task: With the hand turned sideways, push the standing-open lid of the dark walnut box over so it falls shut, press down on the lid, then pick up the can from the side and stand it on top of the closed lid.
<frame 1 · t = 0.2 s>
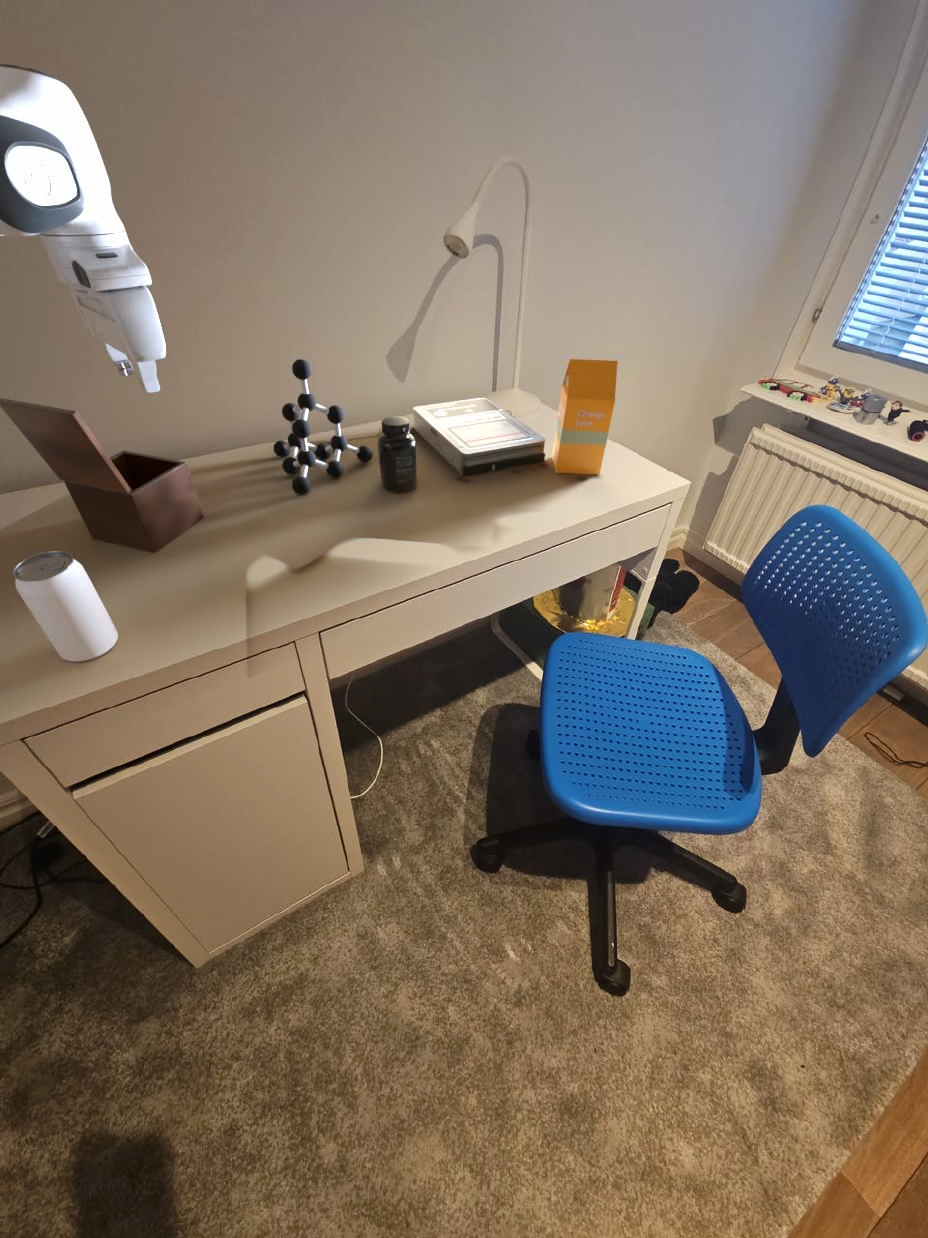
hand: (139, 382, 73), 22 cm above the table, tool pointing down, fingers open, 8 cm apart
box: (150, 527, 87), on the table
can: (90, 646, 66), on the table
molecular model: (309, 467, 105), on the table
lid: (67, 448, 71), point 16 cm above the table, hinge at 104.0°
orange juice: (574, 466, 109), on the table
hard drive: (474, 444, 116), on the table
supplement bottle: (399, 486, 100), on the table
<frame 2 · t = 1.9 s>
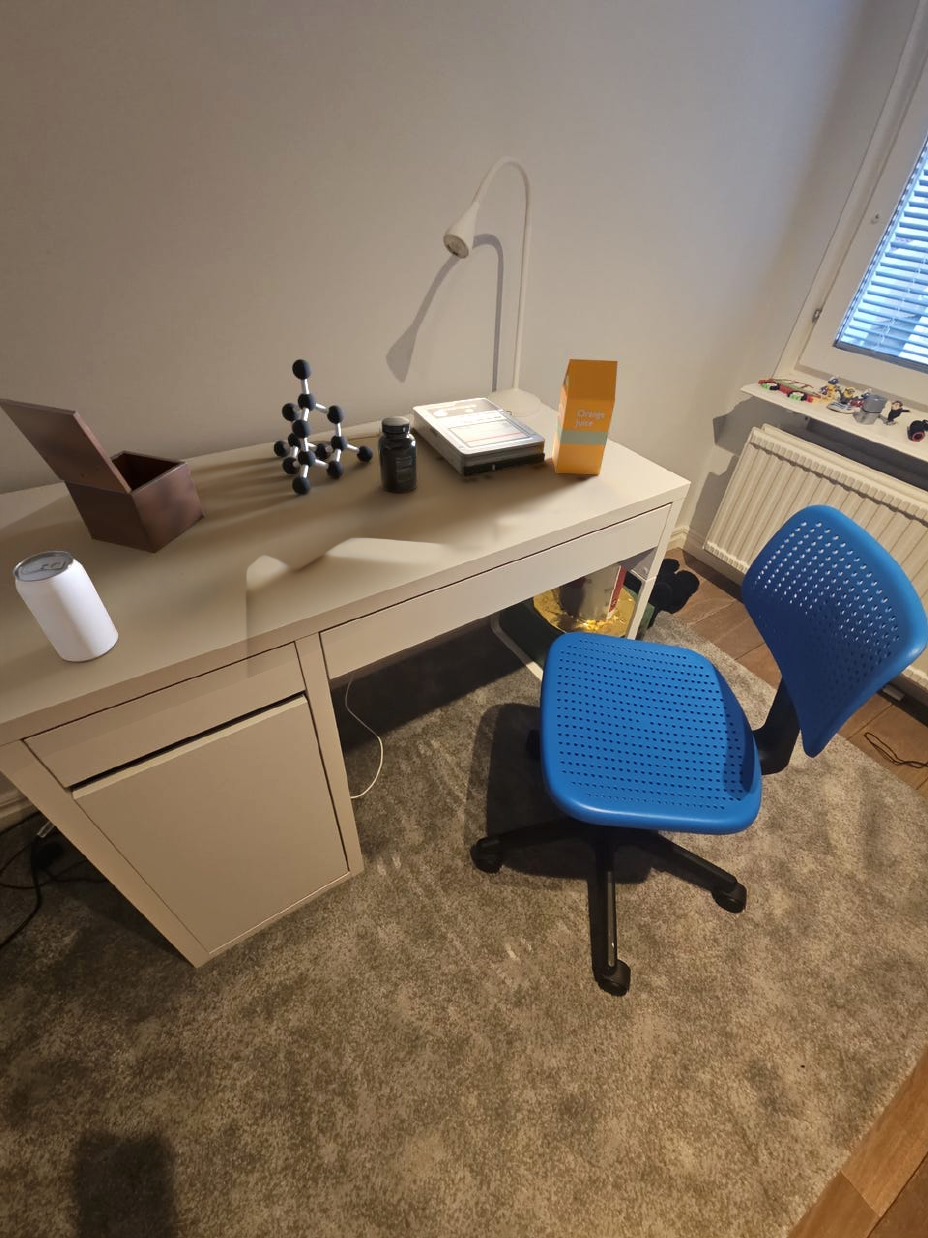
nothing on the table moved.
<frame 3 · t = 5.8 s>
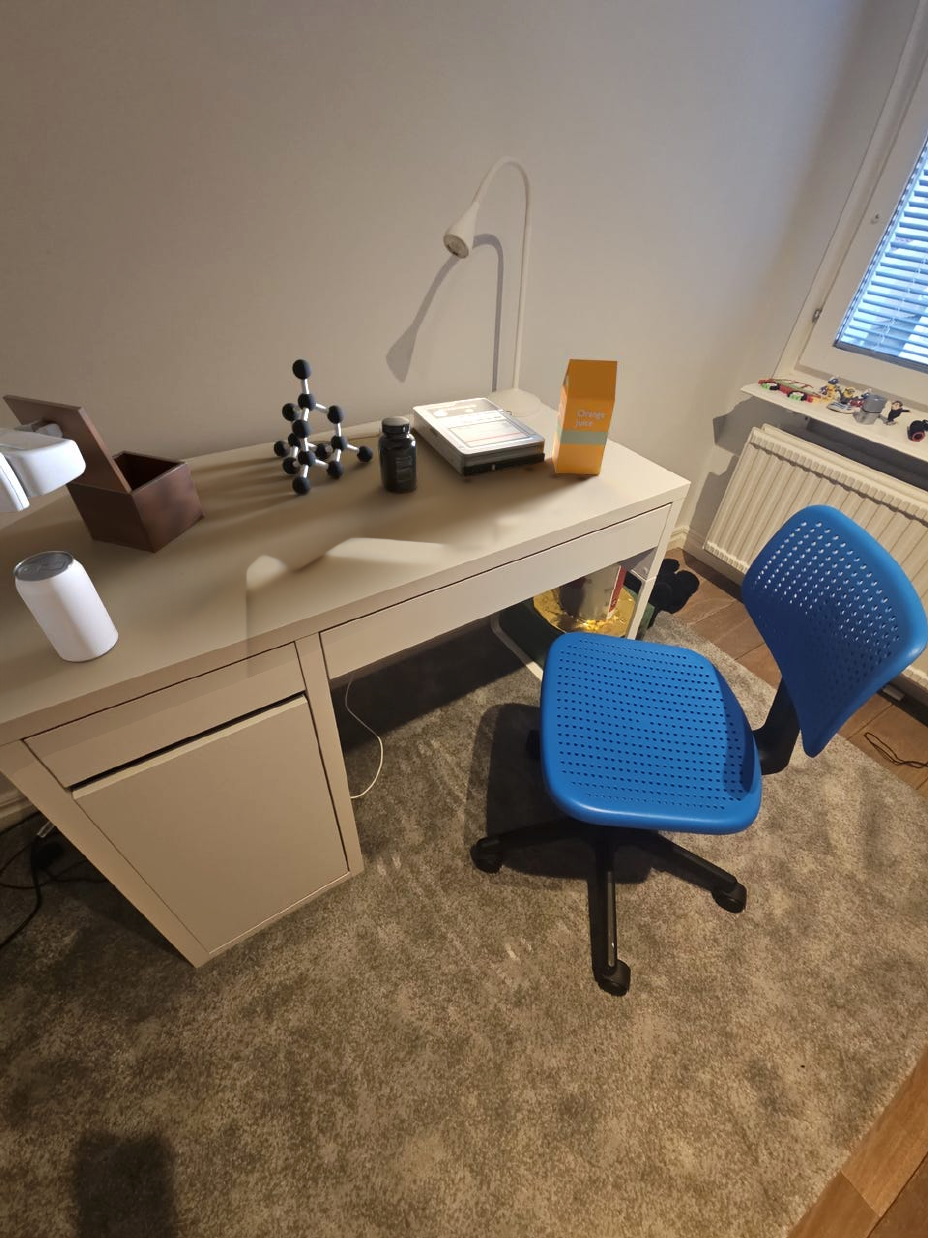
hand: (51, 428, 69), 19 cm above the table, tool horizontal, fingers closed
lid: (70, 446, 71), point 16 cm above the table, hinge at 99.5°, touching gripper
everything else where it was.
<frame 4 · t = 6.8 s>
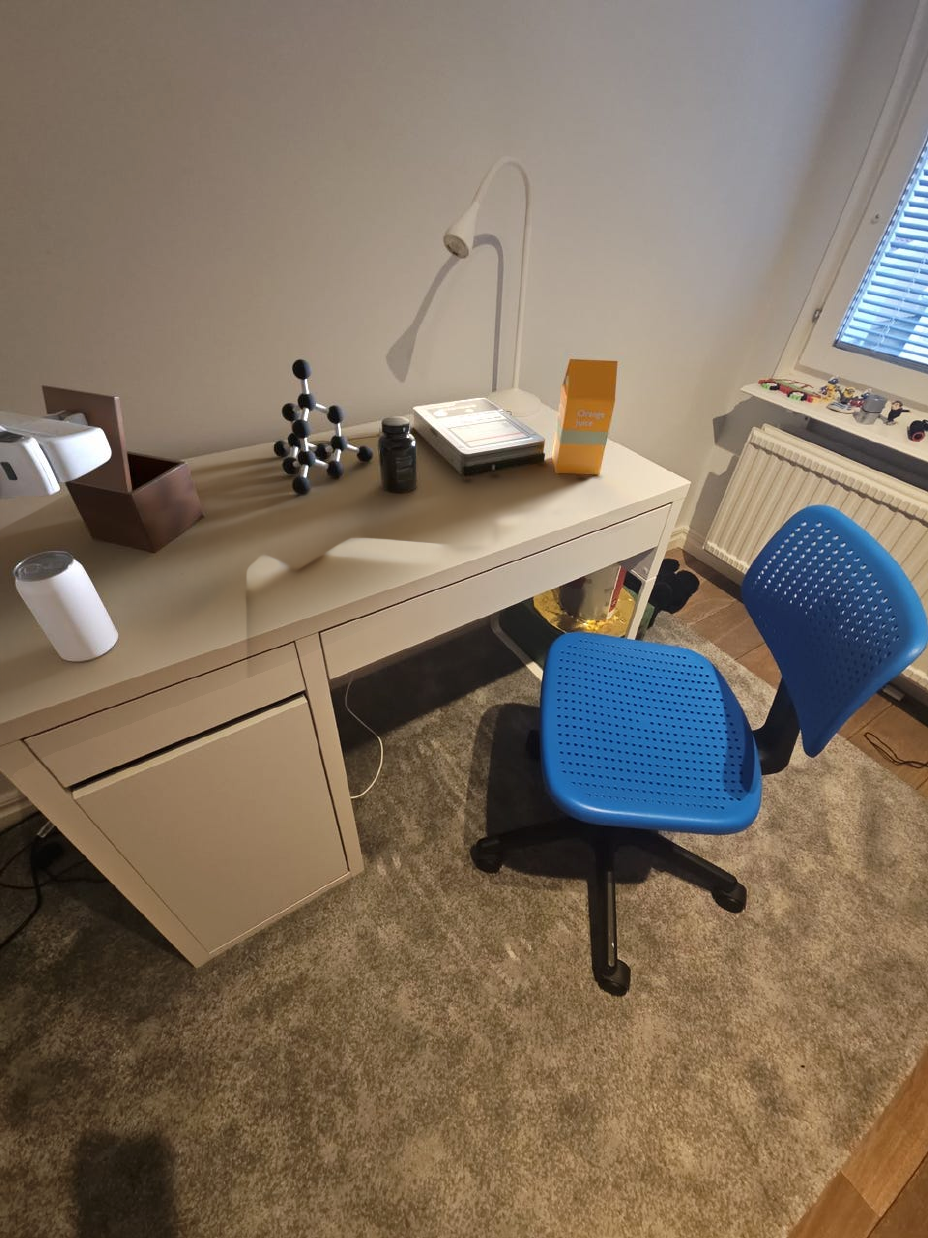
hand: (77, 417, 72), 19 cm above the table, tool horizontal, fingers closed
lid: (87, 439, 73), point 16 cm above the table, hinge at 73.3°, touching gripper
everything else where it was.
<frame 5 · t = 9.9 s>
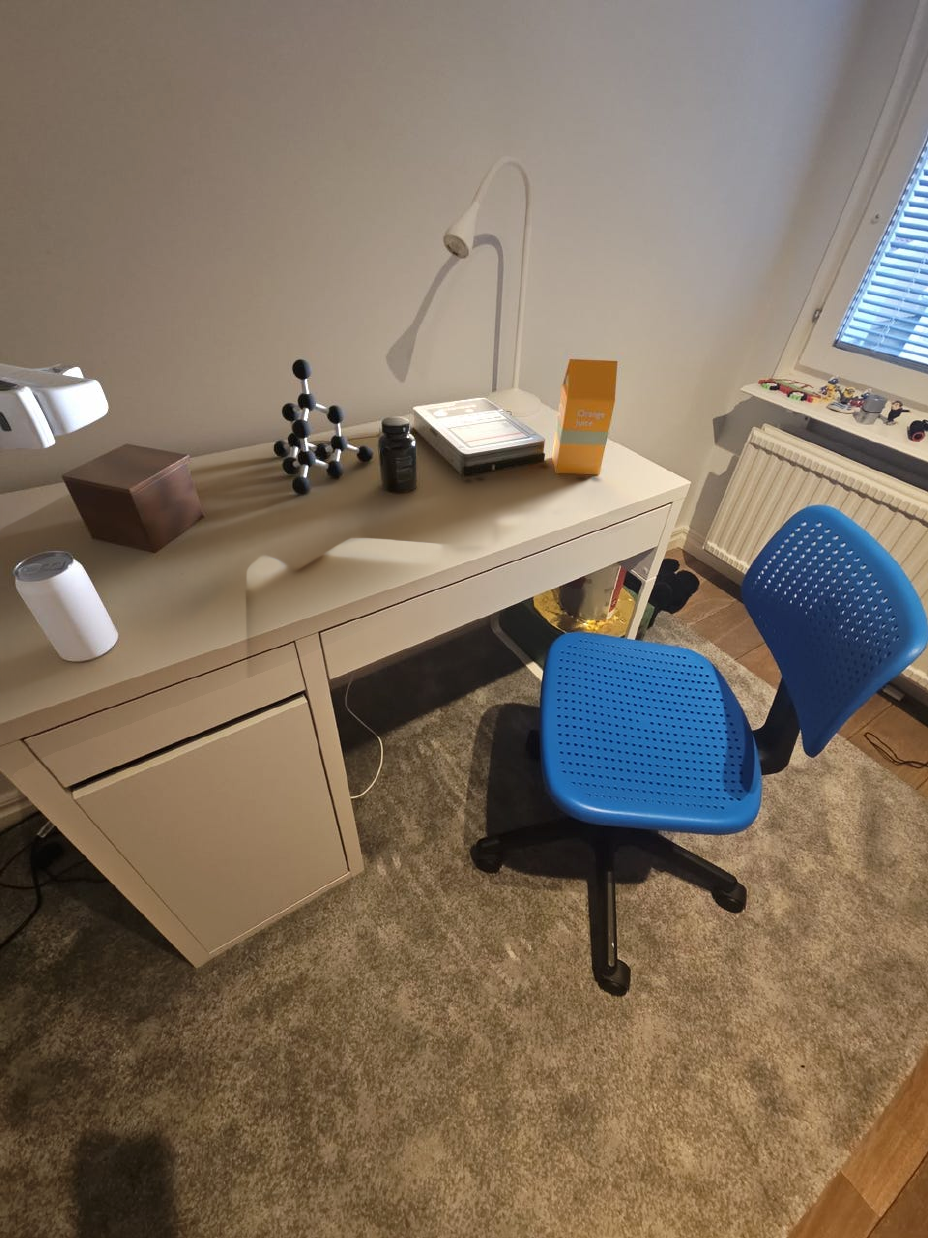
hand: (72, 371, 70), 24 cm above the table, tool horizontal, fingers closed
lid: (128, 467, 80), point 10 cm above the table, hinge at -0.2°
everything else where it was.
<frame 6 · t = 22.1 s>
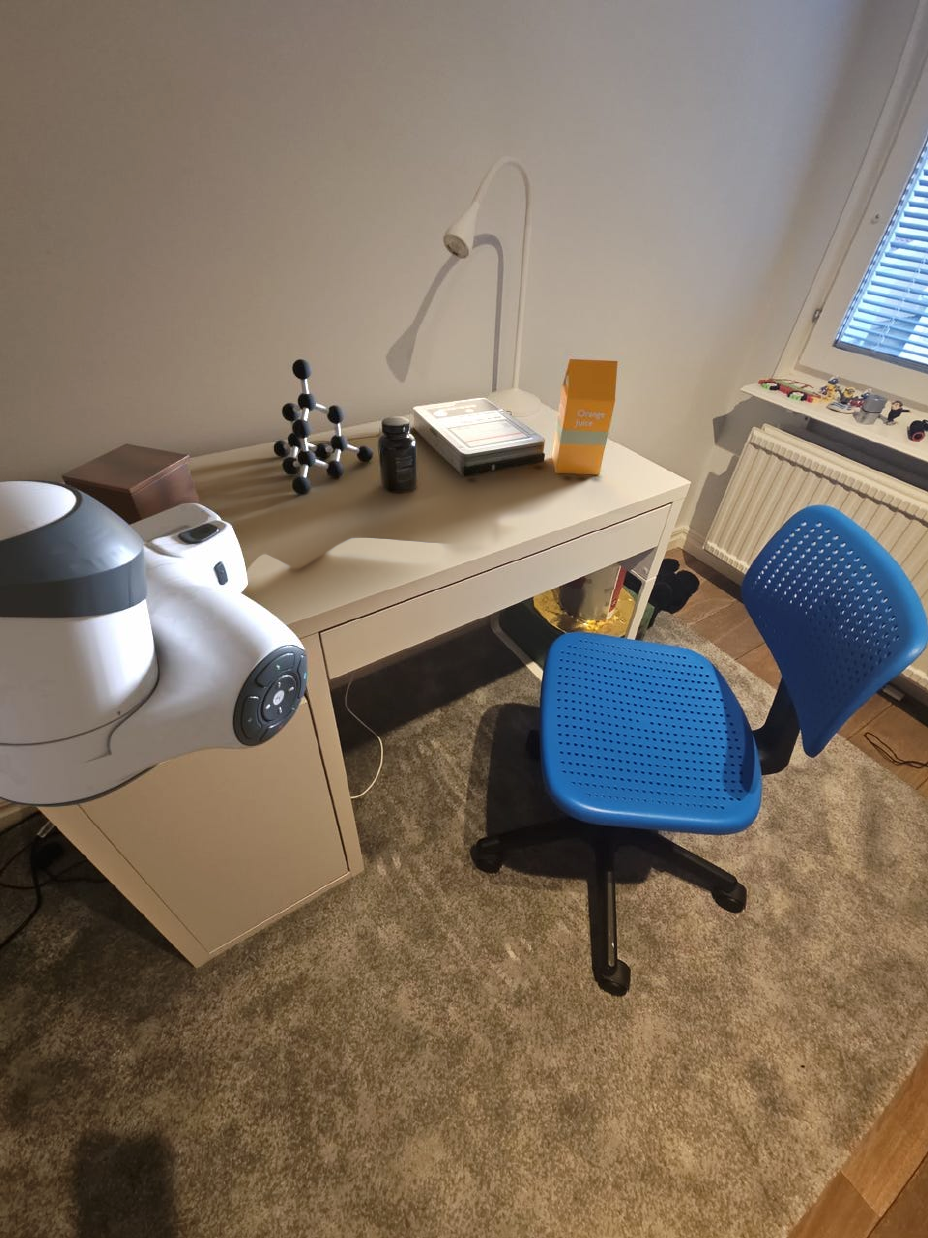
hand: (62, 542, 48), 20 cm above the table, tool horizontal, fingers closed
nothing on the table moved.
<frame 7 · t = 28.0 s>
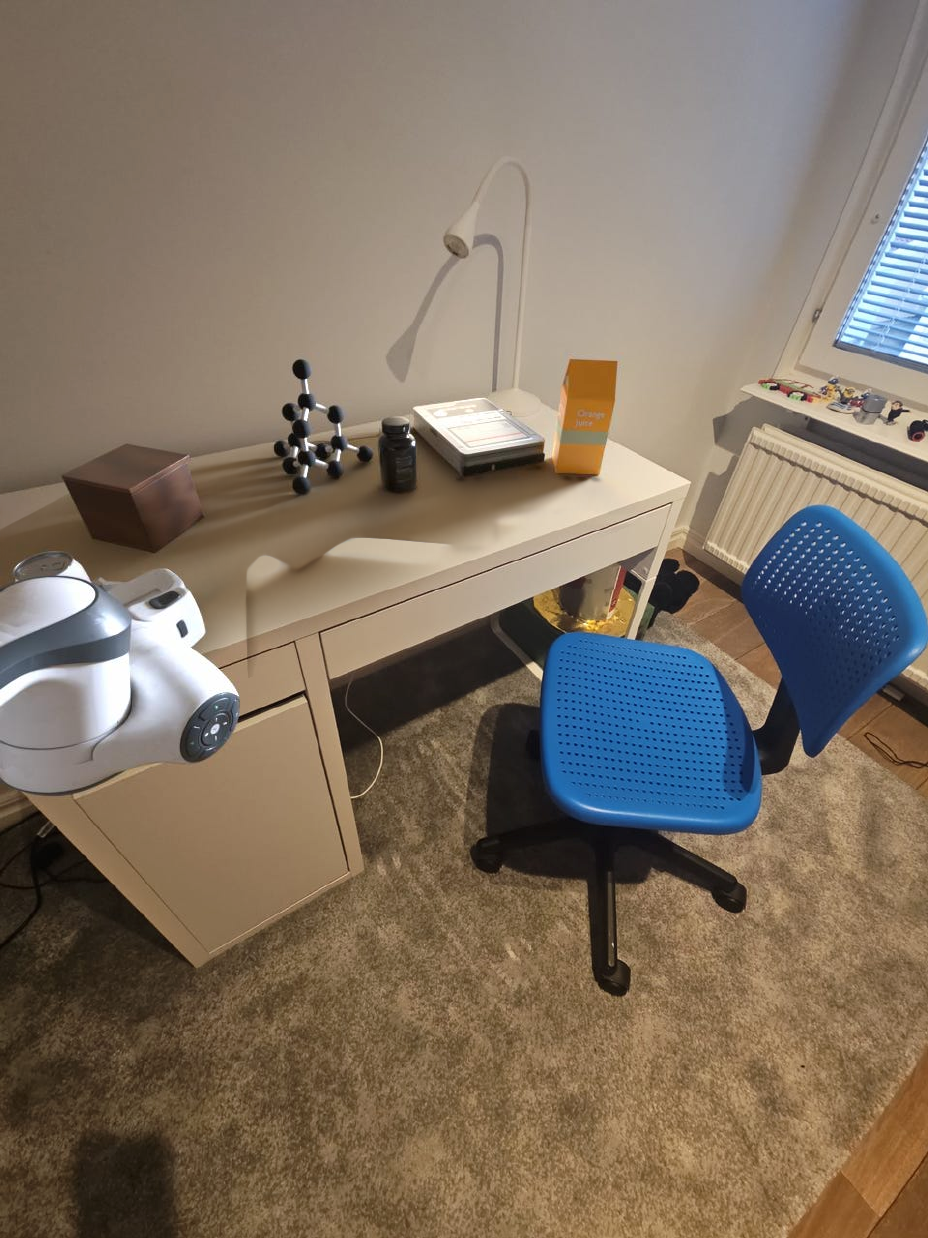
hand: (62, 600, 62), 7 cm above the table, tool horizontal, fingers closed on can, 6 cm apart
can: (90, 646, 66), on the table, touching gripper
everything else where it was.
when the fingers open (17 cm above the table, at t = 38.0 s): can stays where it is, resting on lid.
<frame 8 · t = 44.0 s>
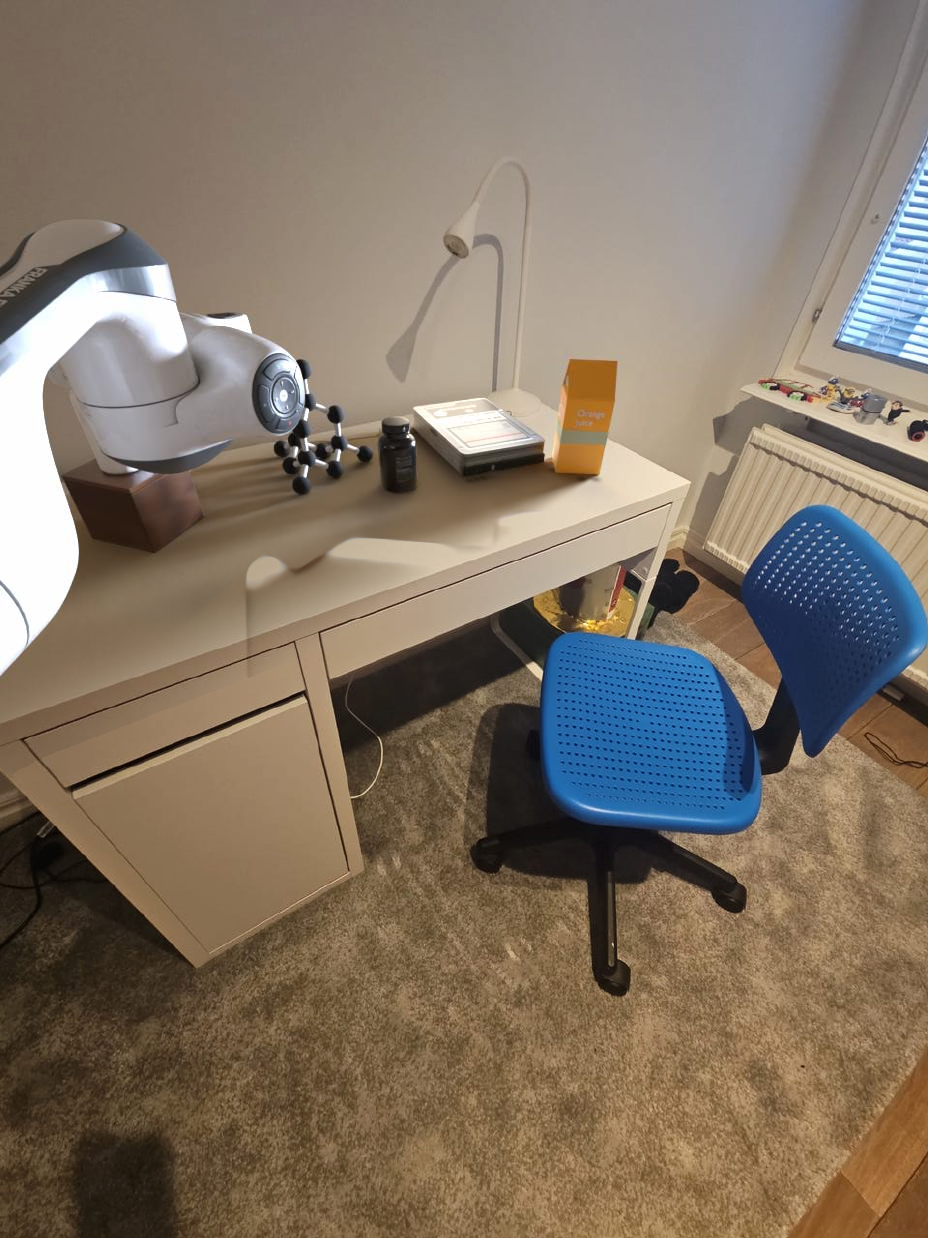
hand: (115, 336, 62), 30 cm above the table, tool horizontal, fingers open, 8 cm apart
can: (125, 467, 80), point 10 cm above the table, touching lid
lid: (128, 467, 80), point 10 cm above the table, hinge at -0.3°, touching box, can
everything else where it was.
at the end: lid at +0° (first picture: +104°); can inside the target area on the box (0.1 cm from its centre), point 10.3 cm above the box's base; can tilted 0° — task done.
